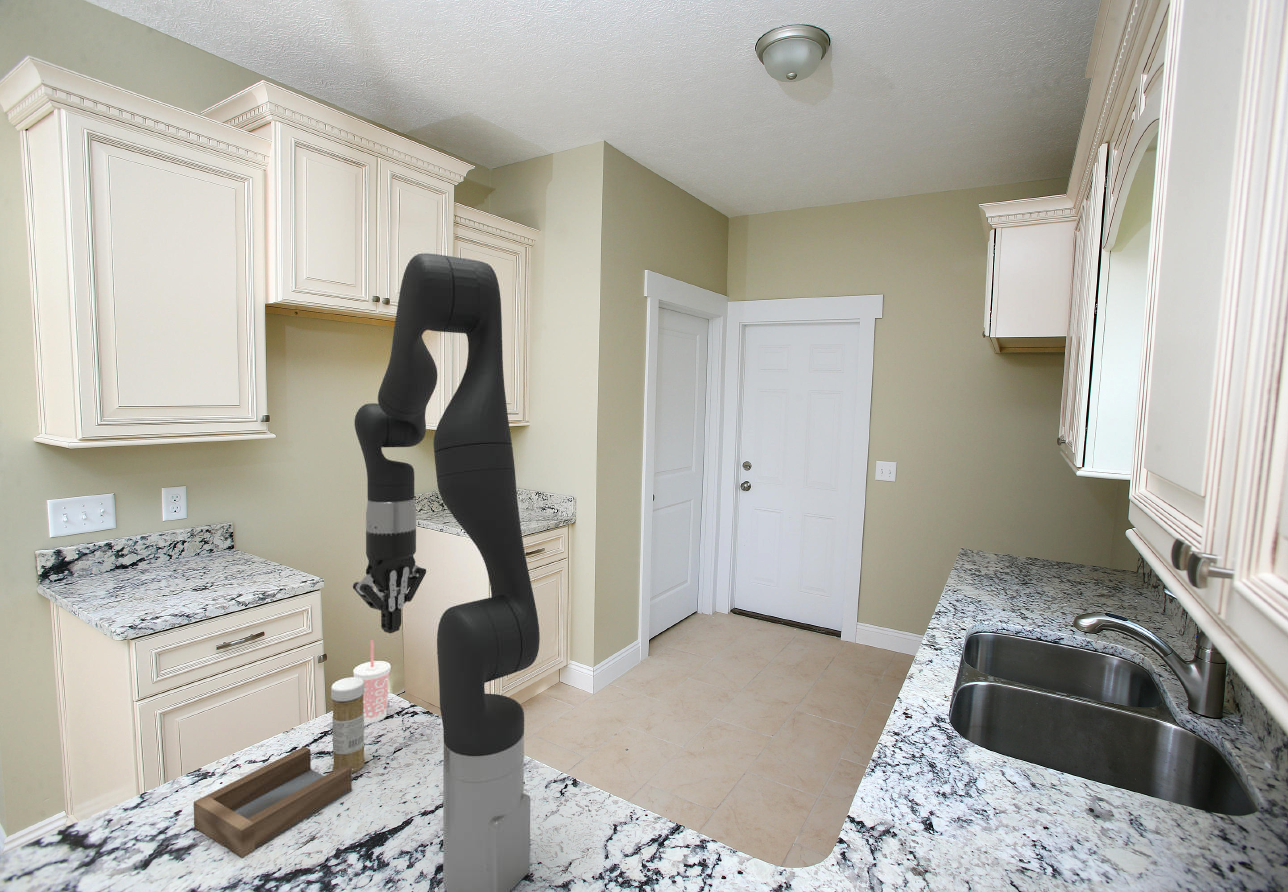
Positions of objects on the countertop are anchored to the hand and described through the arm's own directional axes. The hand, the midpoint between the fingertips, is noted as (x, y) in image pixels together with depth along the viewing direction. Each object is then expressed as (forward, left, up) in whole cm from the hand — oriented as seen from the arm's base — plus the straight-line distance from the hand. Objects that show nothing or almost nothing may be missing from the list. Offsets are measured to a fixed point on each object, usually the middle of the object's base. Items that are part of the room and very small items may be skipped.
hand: (391, 631), depth 99 cm
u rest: (0, +18, -19) cm, 26 cm away
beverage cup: (+10, -4, -19) cm, 22 cm away
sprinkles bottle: (0, +8, -19) cm, 21 cm away
